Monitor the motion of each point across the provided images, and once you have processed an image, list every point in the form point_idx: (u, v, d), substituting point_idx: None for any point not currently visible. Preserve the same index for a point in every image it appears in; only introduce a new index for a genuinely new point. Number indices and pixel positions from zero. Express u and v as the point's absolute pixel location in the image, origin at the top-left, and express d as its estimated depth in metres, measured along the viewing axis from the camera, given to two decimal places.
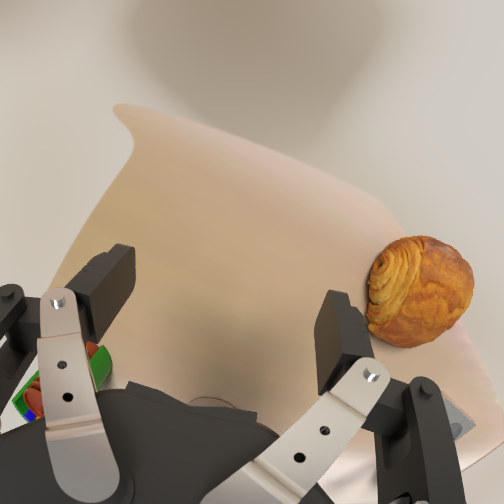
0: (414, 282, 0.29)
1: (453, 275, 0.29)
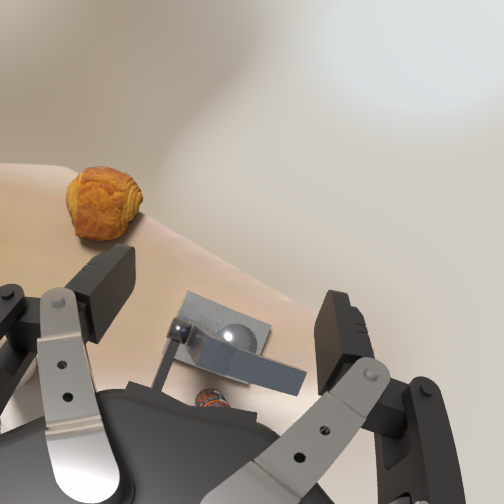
0: (78, 185, 0.49)
1: (104, 174, 0.51)
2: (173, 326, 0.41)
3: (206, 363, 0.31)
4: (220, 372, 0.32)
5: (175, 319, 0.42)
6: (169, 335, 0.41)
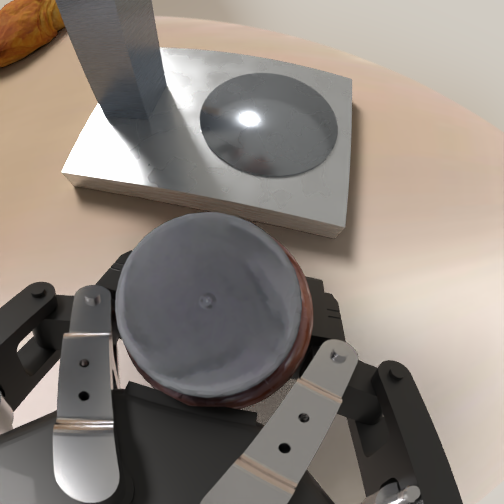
0: None
1: None
2: None
3: None
4: None
5: None
6: None
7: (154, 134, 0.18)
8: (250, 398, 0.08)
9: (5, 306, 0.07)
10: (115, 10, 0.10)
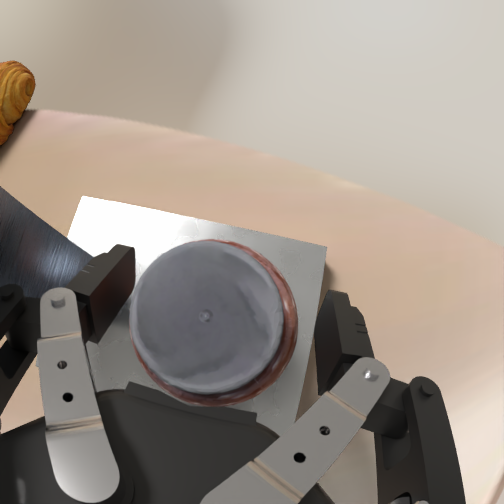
0: None
1: None
2: None
3: None
4: None
5: None
6: None
7: (110, 343, 0.18)
8: (243, 395, 0.09)
9: None
10: None
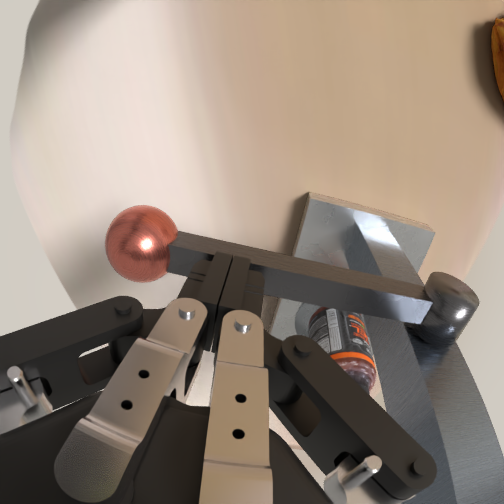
0: None
1: None
2: (471, 311, 0.12)
3: None
4: None
5: None
6: (448, 302, 0.12)
7: (331, 262, 0.29)
8: None
9: (82, 310, 0.08)
10: (363, 316, 0.21)
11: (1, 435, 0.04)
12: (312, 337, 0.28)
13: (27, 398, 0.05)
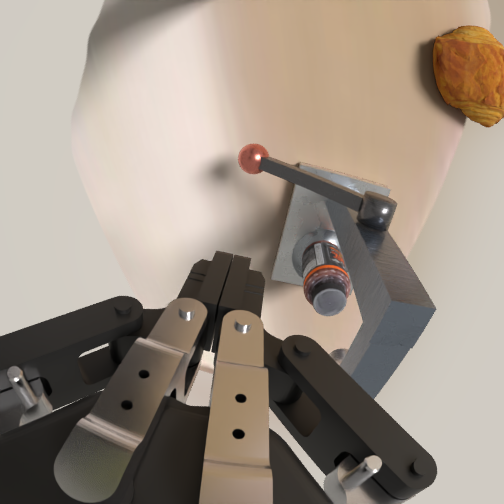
0: (496, 45, 0.23)
1: None
2: (379, 203, 0.25)
3: (393, 314, 0.17)
4: (376, 335, 0.18)
5: (391, 206, 0.25)
6: (366, 196, 0.26)
7: (316, 210, 0.42)
8: (307, 298, 0.37)
9: (82, 310, 0.08)
10: (335, 232, 0.34)
11: (1, 435, 0.04)
12: (304, 262, 0.41)
13: (27, 398, 0.05)
